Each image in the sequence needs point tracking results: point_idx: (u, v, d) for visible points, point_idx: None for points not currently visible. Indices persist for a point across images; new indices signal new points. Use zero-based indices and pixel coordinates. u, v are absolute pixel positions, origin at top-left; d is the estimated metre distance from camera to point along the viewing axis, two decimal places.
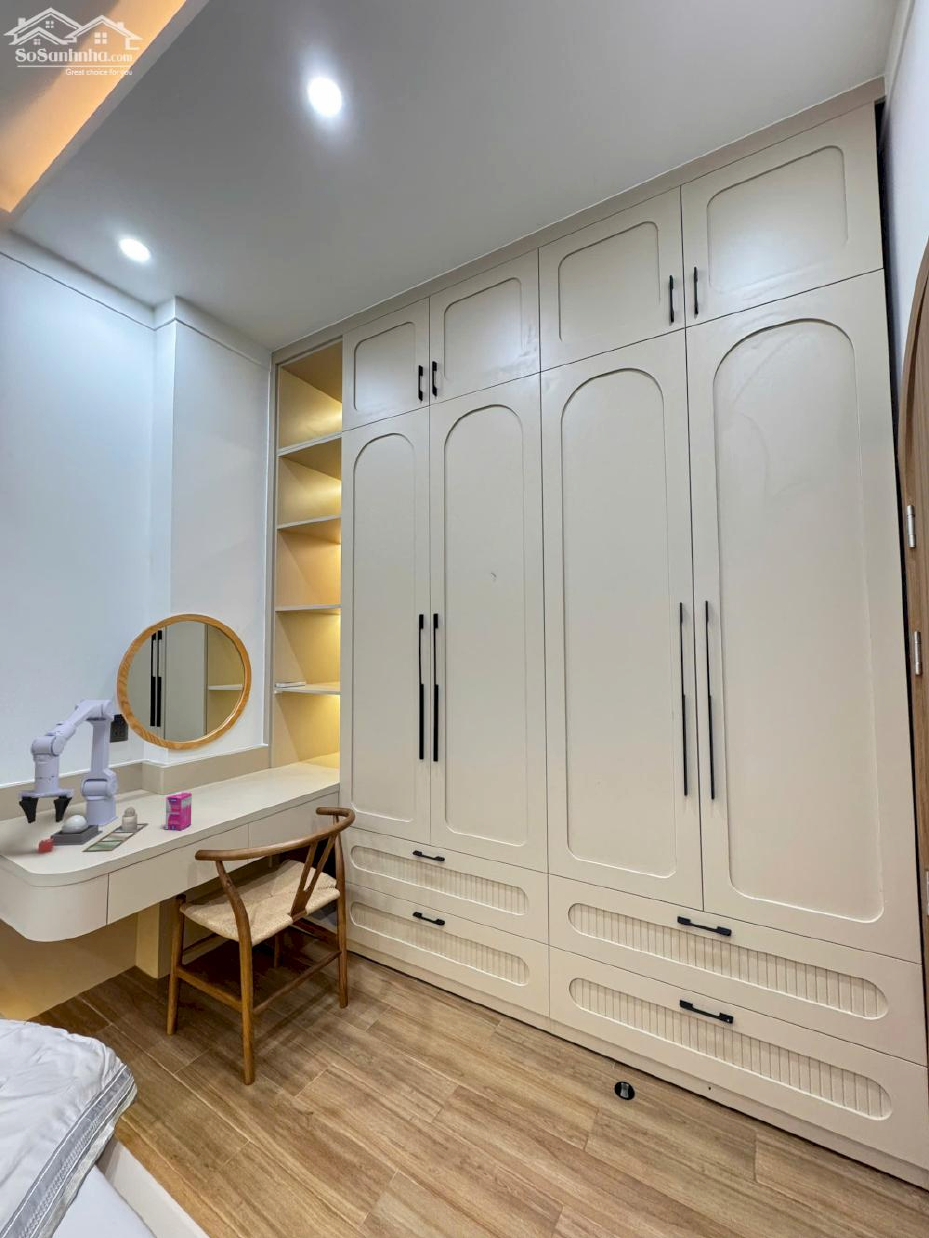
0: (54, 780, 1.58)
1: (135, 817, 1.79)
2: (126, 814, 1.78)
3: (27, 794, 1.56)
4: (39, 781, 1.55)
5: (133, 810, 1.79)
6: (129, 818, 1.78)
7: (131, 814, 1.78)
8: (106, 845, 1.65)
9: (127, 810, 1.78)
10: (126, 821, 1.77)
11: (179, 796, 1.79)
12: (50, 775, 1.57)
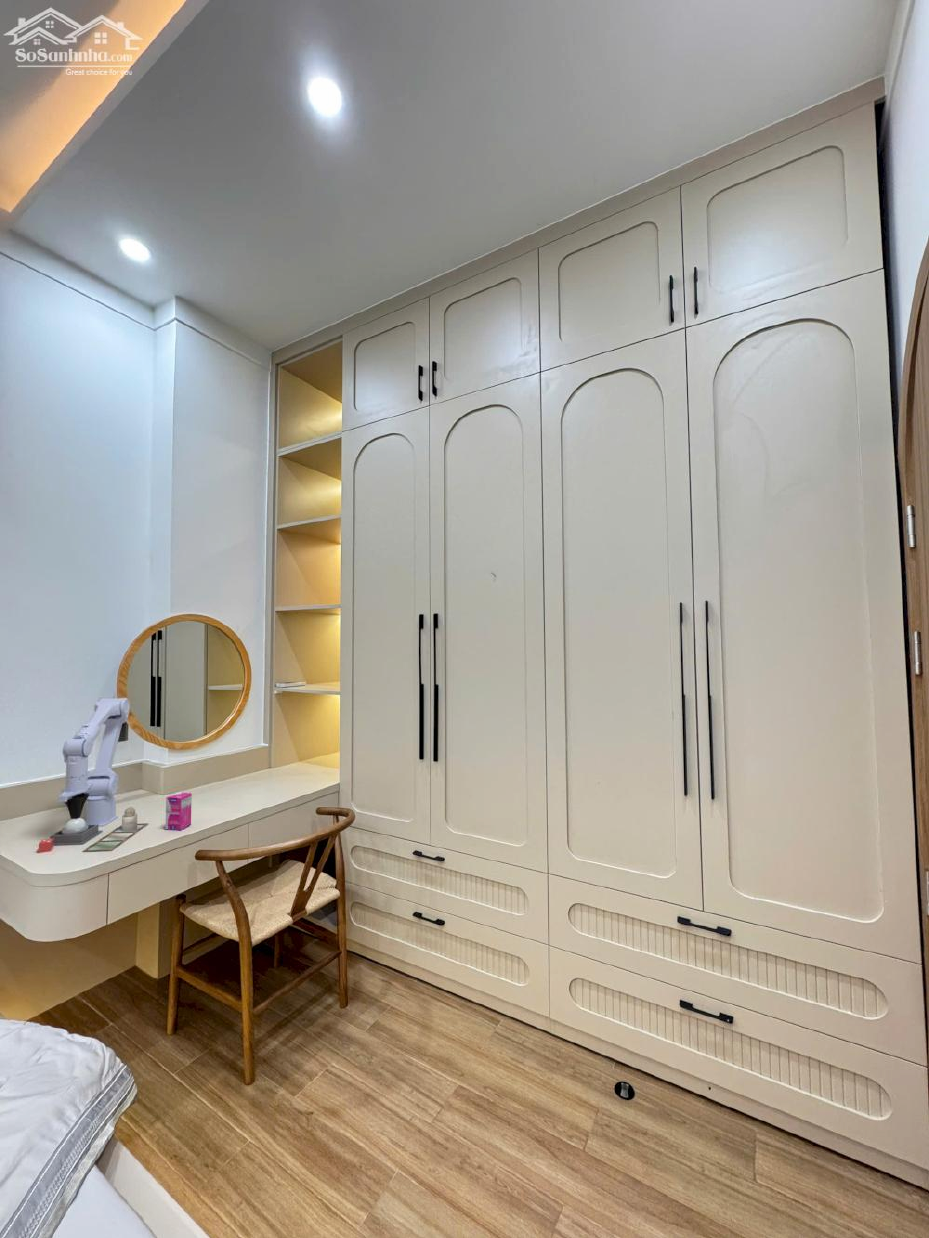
0: (68, 781, 1.68)
1: (135, 817, 1.79)
2: (126, 814, 1.78)
3: None
4: None
5: (133, 810, 1.79)
6: (129, 818, 1.77)
7: (131, 814, 1.78)
8: (106, 845, 1.65)
9: (127, 810, 1.78)
10: (126, 821, 1.77)
11: (179, 796, 1.79)
12: (81, 774, 1.70)
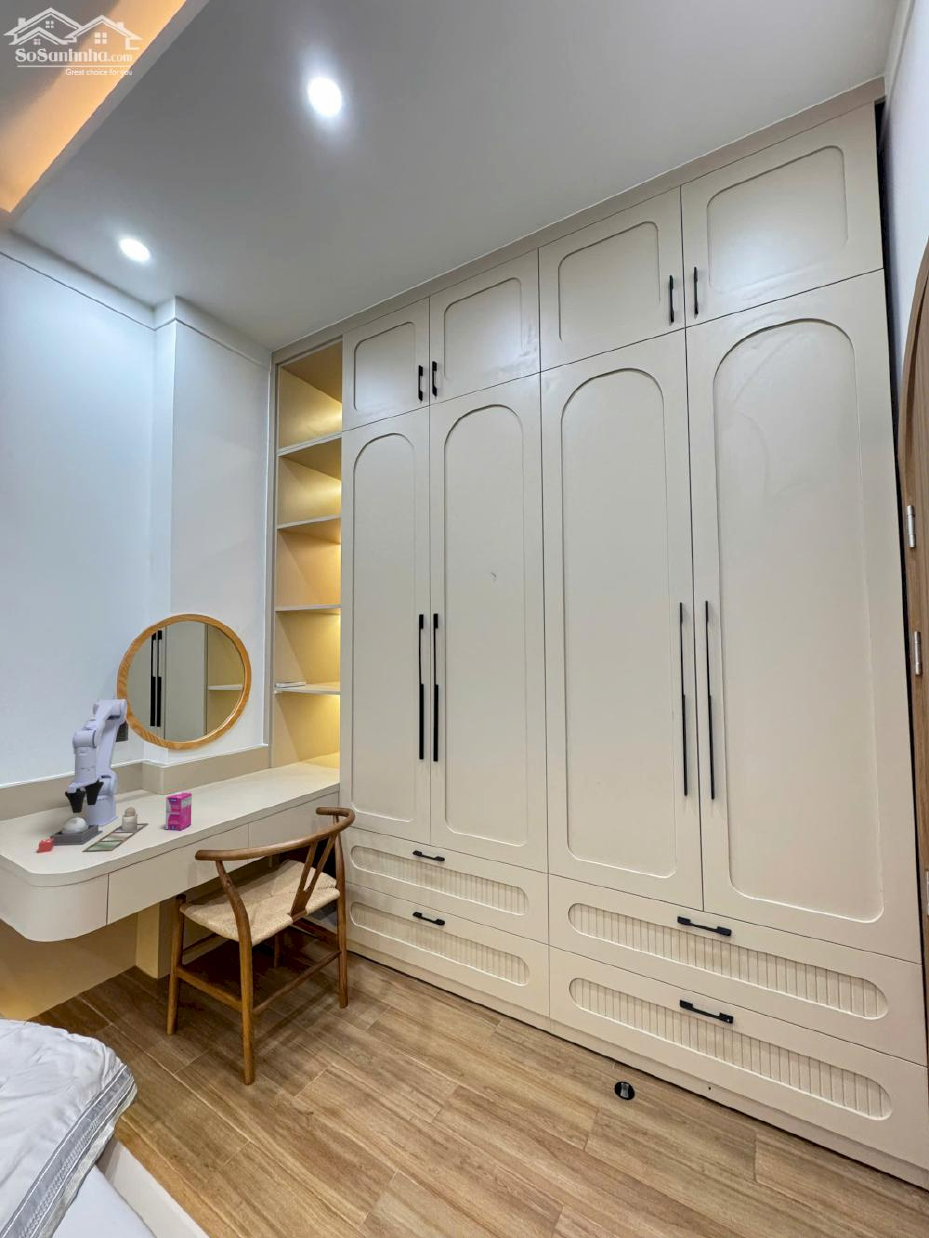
0: (77, 772, 1.70)
1: (135, 817, 1.79)
2: (126, 814, 1.78)
3: None
4: None
5: (133, 810, 1.79)
6: (129, 818, 1.78)
7: (131, 814, 1.78)
8: (106, 845, 1.65)
9: (127, 810, 1.78)
10: (126, 821, 1.77)
11: (179, 796, 1.79)
12: (91, 765, 1.71)
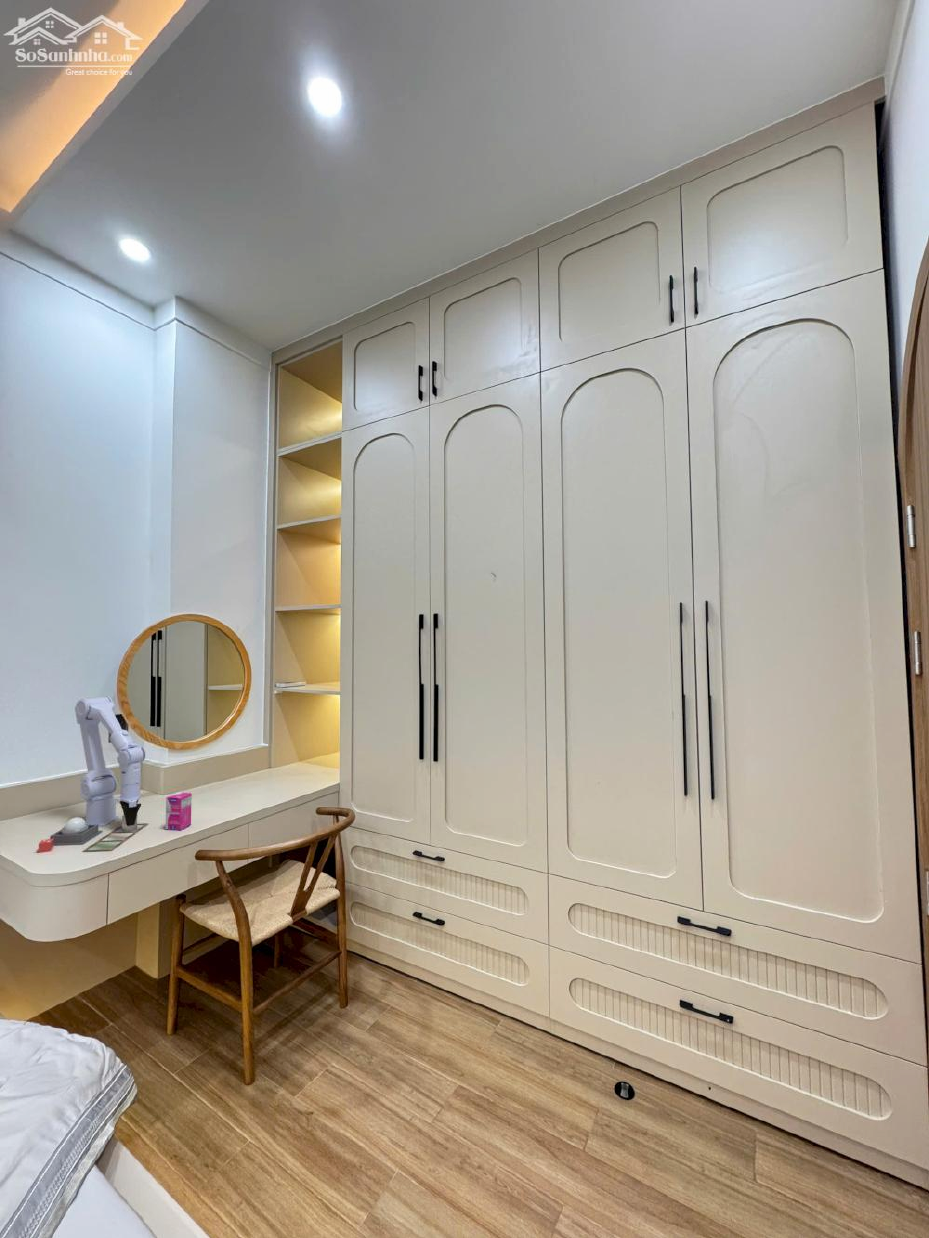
0: (128, 788, 1.77)
1: None
2: None
3: None
4: None
5: None
6: None
7: None
8: (106, 845, 1.65)
9: None
10: None
11: (179, 796, 1.79)
12: (140, 780, 1.81)
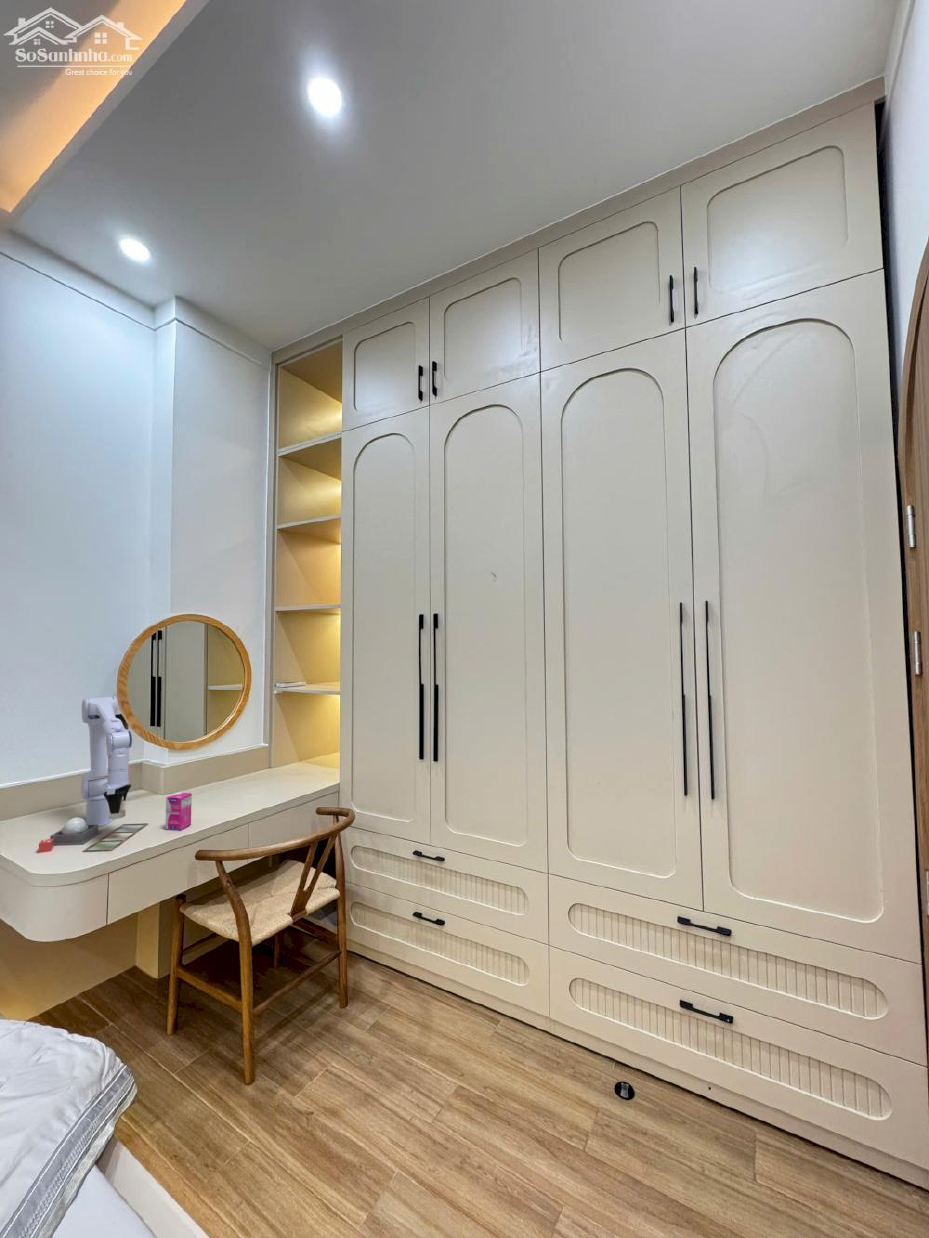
0: (112, 774, 1.69)
1: (121, 805, 1.70)
2: None
3: None
4: None
5: None
6: None
7: None
8: (106, 845, 1.65)
9: None
10: None
11: (179, 796, 1.79)
12: (127, 766, 1.72)
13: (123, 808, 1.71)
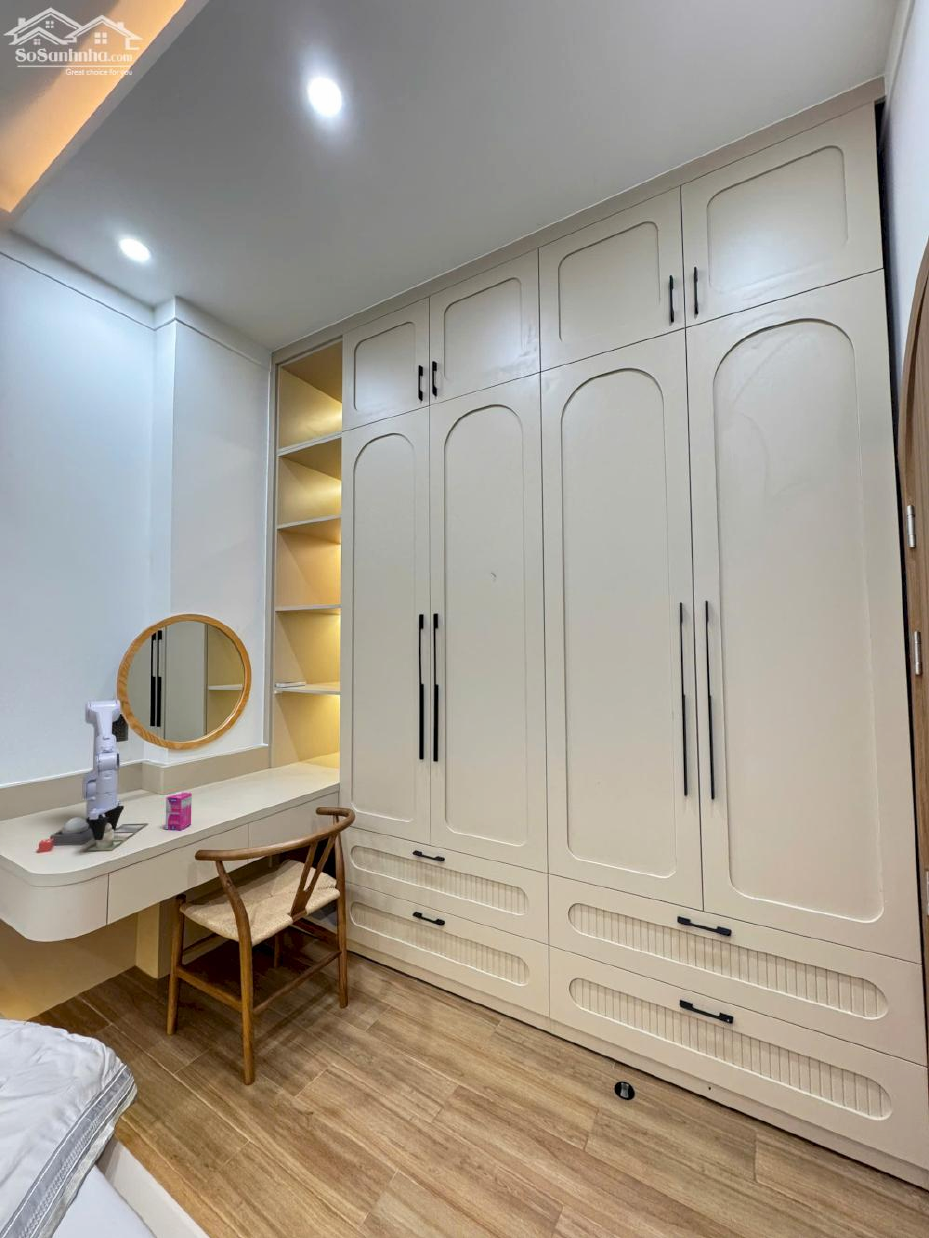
0: (98, 797, 1.62)
1: (107, 835, 1.63)
2: None
3: None
4: None
5: (107, 826, 1.64)
6: None
7: (104, 831, 1.63)
8: None
9: None
10: None
11: (179, 796, 1.79)
12: (115, 789, 1.65)
13: (110, 838, 1.64)
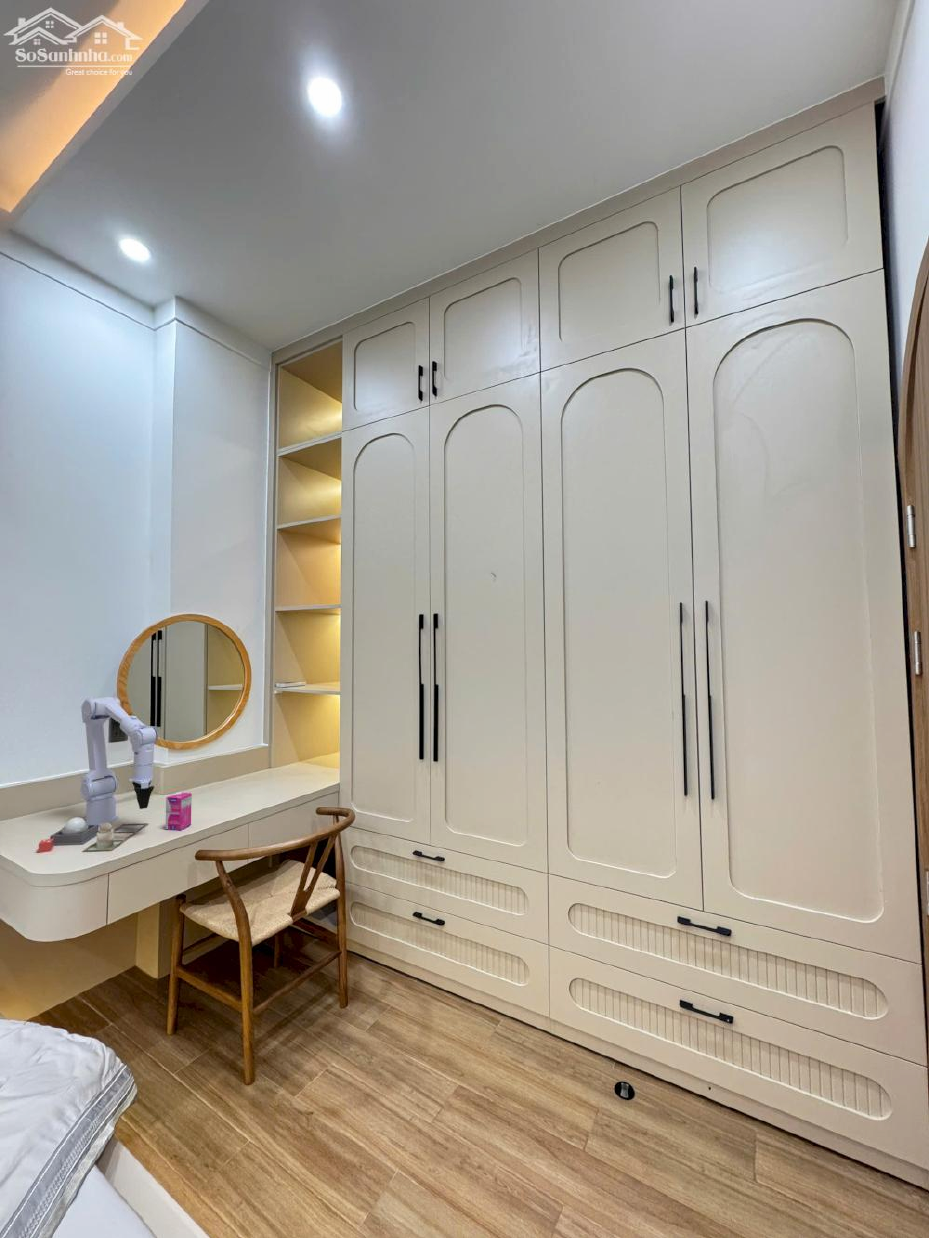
0: (140, 769, 1.74)
1: (107, 835, 1.63)
2: (99, 830, 1.63)
3: None
4: None
5: (106, 826, 1.64)
6: (100, 835, 1.62)
7: (103, 831, 1.63)
8: None
9: (101, 825, 1.64)
10: (98, 837, 1.62)
11: (179, 796, 1.79)
12: None
13: (110, 838, 1.64)
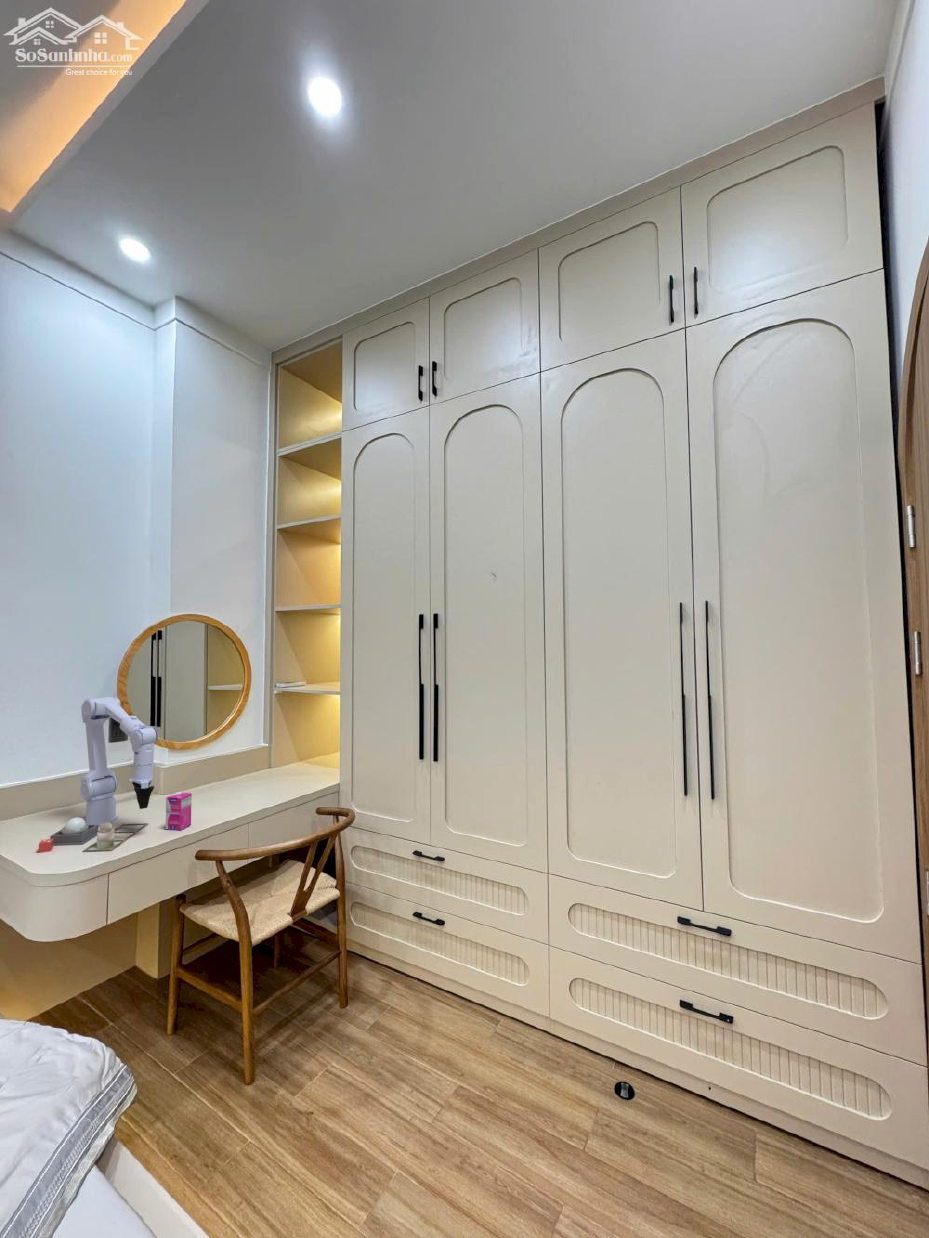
0: (140, 769, 1.74)
1: (108, 834, 1.63)
2: (100, 830, 1.63)
3: None
4: None
5: (107, 826, 1.64)
6: (101, 835, 1.62)
7: (104, 830, 1.63)
8: None
9: (102, 825, 1.64)
10: (98, 837, 1.63)
11: (179, 796, 1.79)
12: None
13: (110, 837, 1.64)
